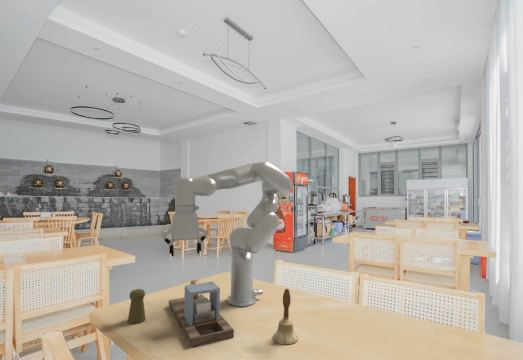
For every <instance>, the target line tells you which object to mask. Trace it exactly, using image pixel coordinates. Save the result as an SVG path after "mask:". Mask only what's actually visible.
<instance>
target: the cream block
mask: <svg viewBox="0 0 523 360" xmlns="http://www.w3.org/2000/svg"><path fill="white" fill-rule="evenodd" d="M209 300H210V299H208V297H205V298H200V299H194V300H193V311H194V313H195V314H197V313H202V312H207V311H211V302H210V301H209Z"/></svg>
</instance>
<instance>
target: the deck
mask: <svg viewBox="0 0 523 360" xmlns="http://www.w3.org/2000/svg"><path fill="white" fill-rule="evenodd" d="M200 298H206V297H205V295H204V294H198V299H200ZM168 307H169V309H170V311H171V312H172V314H173V317H174V318H175V320H176V322H177V323H178V326H179V327H180V329H181V331H182V333H183V335H184V337H185V338H186V340H187V343H188V344H189V346H190V348H196V347H200V346H204V345H208V344H212V343H215V342H220V341H224V340H227V339H233V338H235V336H234V335H235V328H233V327H232V326H231V325H230V324H229V322H228V321H227V320H226V319H225V318H224V317H223V316H222V315H221V313H219V320H216V319H214V320H209V321H204V322H199V323H193V325H191V326H190V325H189V324H188V322H187V320H186V319H185V317H184V297H180V298H179V297H178V298H175V299H174V298H173V299H169V300H168Z"/></svg>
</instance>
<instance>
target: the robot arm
mask: <svg viewBox="0 0 523 360" xmlns="http://www.w3.org/2000/svg"><path fill="white" fill-rule="evenodd" d="M257 182H261V190H262V197H261V199H260V201H259V202H258V203H257V205H256V206H255V207H254V209H253V210H252V211H251V212H250V213H249V215H247V218H246V225H247V227H248V228H247V227H242V226H241V227H237V228H235V229H233V230H232V231H231V233H230V236H229V245H230V254H231V256H230V257H231V258H230V261H231V262H230V295H229V296H227V298H226V303H227V304H228V305H231V306H233V307H249V306H251V305H254V304H255V303H256V302H257V297H256V296H260V295H263V294H264V293H263V289H254V288H253V285H254V255H253V254H258V253H260V252H261V251H262V250H263V249H264V248H265V246H267V244H268V243H269V241H270V240H271V239H272V237H273V236H274V234H275V233H276V231H277V229H278V228H279V223H280V222H279V221H280V220H279V216H278V215H277V214H276V211H277V209H278V207H279V194H282V195H283V194H287V193H289V192H290V191H291V190H292V189H293V182H292V178H291V177H290V176H288V174H286V173H285V172H284V171H282V170H281V169H280V168H278V167H277V166H275V165H273V164H271V163H270V162H267V161H259V162H252V163H247V164H244V165H241V166H236V167H231V168H229V169H224V170H222V171H217V172H214V173H210V174H205V175H201V176H198V177H194V178H191V177H178V178H176V179H175V181H174V213H173V214H172V219H171V228H169V229H168V230H167V231H164V232H162V233H161V237H162V239H163V241H164V242H165V243H166V244H167V245H168V246H169V255H170V254H171V255H170V256H171V257H174V255H175V254H174V250H175V249H174V248H175V246H174V243H175V241H185V240H186V241H187V240H196V241H197V242H196V253H197V255H200V254H201V252H202V243H203V242H204V241H205V239H206V238H207V236H208V234H209V231H208V230H207V229H204V228H202V227H200V226H199V225H200V224H199V217H198V213H197V212H196V211H199V210H200V207H199V205H198V206H197V205H196V196H199V197H209V196H212V195H213V194H214V193H215V192H216V191H218V190H219V191H220V190H231V189H237V188H241V187H242V186H243V187H244V186H247V185H250V184H253V183H254V184H255V183H257ZM200 232H201V233H203V235H202V236H201V237H200ZM170 234H171V239H169V238H168V237H167V236H168V235H170Z"/></svg>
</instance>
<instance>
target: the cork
mask: <svg viewBox="0 0 523 360" xmlns="http://www.w3.org/2000/svg"><path fill="white" fill-rule="evenodd" d="M145 297H146V292H145V290H144V289H143V288H136V289H132V290H131V291H130V293H129V299H130V306H129V310H128V311H129V312H128V318H127V323H128V324H130V325H138V324H142V323H143V322H146V311H145V304H144V298H145Z"/></svg>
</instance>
